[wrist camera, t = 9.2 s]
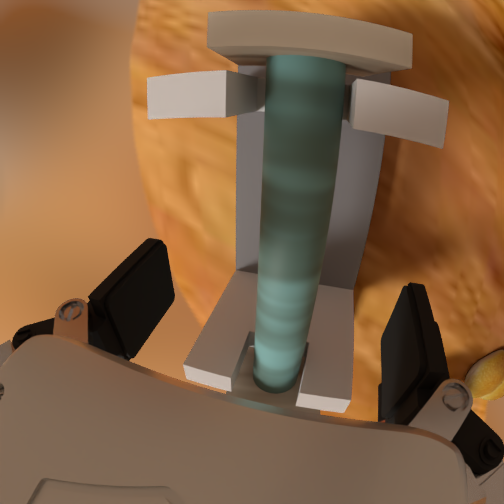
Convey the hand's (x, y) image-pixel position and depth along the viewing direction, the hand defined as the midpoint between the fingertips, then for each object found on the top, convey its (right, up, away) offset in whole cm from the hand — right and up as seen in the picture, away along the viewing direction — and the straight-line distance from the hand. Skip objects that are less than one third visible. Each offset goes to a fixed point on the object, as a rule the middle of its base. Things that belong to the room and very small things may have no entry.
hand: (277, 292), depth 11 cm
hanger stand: (+3, +6, +11) cm, 13 cm away
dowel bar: (+1, +2, +5) cm, 6 cm away
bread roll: (+30, -13, +14) cm, 36 cm away
